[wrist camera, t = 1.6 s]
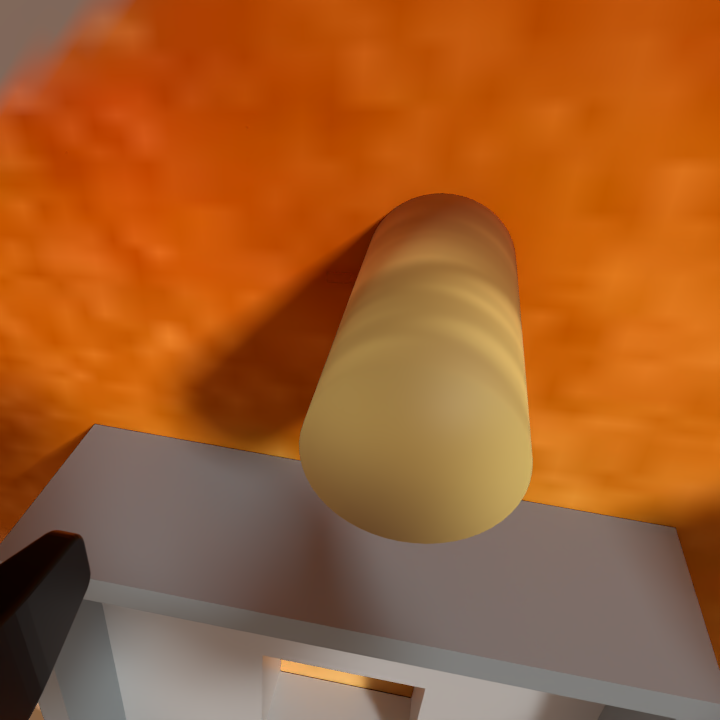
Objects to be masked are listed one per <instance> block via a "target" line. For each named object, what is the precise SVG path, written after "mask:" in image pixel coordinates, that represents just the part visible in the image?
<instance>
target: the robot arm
mask: <svg viewBox="0 0 720 720" xmlns="http://www.w3.org/2000/svg"><path fill="white" fill-rule="evenodd" d="M90 576H91V571H90V566H89V561H88V557H87V552H86V547H85V543H84V539H83V538H82V536H81V535H80V534H77V533H72V532H66V531H61V530H52V531H50V532H47V533H46V534H44V535H42V536H41V537H39V538H38V539H36V540H35V541H33V542H32V543H30V544H29V545H27V546H26V547H24V548H23V549H21V550H20V551H18V552H17V553H15V554H14V555H12V556H11V557H9V558H8V559H7V560H5V561H4V562H2V563H1V564H0V720H28V719H29V718H30V716H31V714H32V712H33V711H34V709H35V707H36V705H37V703H38V701H39V699H40V697H41V695H42V693H43V691H44V689H45V687H46V685H47V682H48V680H49V678H50V676H51V673H52V671H53V669H54V666H55V664H56V662H57V659H58V657H59V655H60V652H61V650H62V648H63V645H64V643H65V641H66V638H67V636H68V634H69V631H70V629H71V626H72V624H73V622H74V619H75V617H76V615H77V612H78V610H79V608H80V605H81V603H82V601H83V598H84V596H85V594H86V591H87V589H88V586H89V582H90Z"/></svg>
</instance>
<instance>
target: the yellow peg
mask: <svg viewBox="0 0 720 720" xmlns="http://www.w3.org/2000/svg"><path fill="white" fill-rule="evenodd" d="M299 453H300V459H301V464H302V467H303V470H304V473H305V476H306V478H307V480H308V481H309V483H310V485H311V487H312V488H313V490H314V491H315V492H316V494H317V495H318V497H319V498H320V499H321V500H322V501H323V502H324V503H325V504H326V505H327V506H328V507H329V508H330V509H331V510H332V511H334V512H335V513H336V514H337V515H339V516H340V517H342V518H343V519H344V520H346V521H347V522H349V523H351V524H353V525H354V526H356V527H358V528H360V529H362V530H365V531H367V532H369V533H372V534H374V535H377V536H380V537H383V538H387V539H391V540H396V541H401V542H408V543H420V544H435V543H446V542H453V541H458V540H462V539H466V538H469V537H472V536H475V535H478V534H480V533H482V532H484V531H486V530H488V529H490V528H492V527H494V526H495V525H497V524H498V523H500V522H501V521H503V520H504V519H505V518H506V517H507V516H508V515H510V514H511V513H512V512H513V510H514V509H515V508H516V507H517V506H518V505H519V503H520V502H521V500H522V498H523V497H524V495H525V493H526V491H527V489H528V486H529V484H530V479H531V475H532V463H533V459H532V447H531V435H530V423H529V411H528V398H527V386H526V374H525V362H524V350H523V338H522V326H521V313H520V301H519V289H518V277H517V265H516V255H515V248H514V245H513V241H512V239H511V236H510V234H509V232H508V230H507V229H506V227H505V226H504V224H503V223H502V222H501V220H500V219H499V218H498V217H497V216H496V215H495V214H494V213H493V212H492V211H491V210H489V209H488V208H486V207H485V206H483V205H482V204H480V203H478V202H476V201H474V200H472V199H469V198H466V197H463V196H459V195H454V194H444V193H440V194H429V195H423V196H419V197H416V198H413V199H411V200H409V201H406V202H404V203H402V204H401V205H399V206H398V207H396V208H395V209H393V210H392V211H391V212H390V213H389V214H388V215H387V216H386V217H385V218H384V219H383V220H382V221H381V223H380V224H379V226H378V227H377V228H376V230H375V232H374V234H373V236H372V239H371V242H370V244H369V247H368V250H367V252H366V255H365V258H364V260H363V263H362V266H361V269H360V271H359V274H358V277H357V279H356V282H355V285H354V287H353V290H352V293H351V296H350V298H349V301H348V304H347V306H346V309H345V312H344V314H343V317H342V320H341V323H340V325H339V328H338V331H337V333H336V336H335V339H334V341H333V344H332V347H331V350H330V352H329V355H328V358H327V360H326V363H325V366H324V369H323V371H322V374H321V377H320V379H319V382H318V385H317V387H316V390H315V393H314V396H313V398H312V401H311V404H310V406H309V409H308V412H307V414H306V417H305V420H304V423H303V426H302V429H301V433H300V440H299Z"/></svg>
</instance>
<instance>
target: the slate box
mask: <svg viewBox="0 0 720 720" xmlns="http://www.w3.org/2000/svg"><path fill="white" fill-rule="evenodd" d="M52 530H61V531H66V532H72V533H77V534H80V535H81V536H82V538H83V539H84V543H85V547H86V552H87V557H88V561H89V566H90V571H91V576H90V582H89V586H88V589H87V591H86V594H85V596H84V598H83V601H82V603H81V605H80V608H79V610H78V612H77V615H76V617H75V619H74V622H73V624H72V626H71V629H70V631H69V634H68V636H67V638H66V641H65V643H64V645H63V648H62V650H61V652H60V655H59V657H58V659H57V662H56V664H55V666H54V669H53V671H52V673H51V676H50V678H49V680H48V682H47V685H46V687H45V689H44V691H43V693H42V695H41V697H40V699H39V701H38V703H39V706H40V709H41V712H42V715H43V718H44V720H720V670H719V667H718V664H717V660H716V657H715V654H714V651H713V647H712V644H711V641H710V638H709V635H708V631H707V628H706V625H705V622H704V618H703V615H702V612H701V609H700V605H699V602H698V599H697V596H696V593H695V589H694V586H693V583H692V580H691V576H690V573H689V570H688V567H687V563H686V560H685V557H684V554H683V551H682V547H681V544H680V541H679V538H678V534H677V531H676V528H673V527H668V526H662V525H657V524H651V523H645V522H640V521H634V520H629V519H623V518H617V517H612V516H606V515H601V514H595V513H589V512H584V511H578V510H573V509H567V508H561V507H556V506H550V505H545V504H539V503H533V502H528V501H522V500H521V502H520V503H519V505H518V506H517V507H516V508H515V509H514V510H513V512H512V513H511V514H510V515H508V516H507V517H506V518H505V519H504V520H503V521H501V522H500V523H498V524H497V525H495V526H494V527H492V528H490V529H488V530H486V531H484V532H482V533H480V534H478V535H475V536H472V537H469V538H466V539H462V540H458V541H453V542H446V543H435V544H420V543H408V542H401V541H396V540H391V539H387V538H383V537H380V536H377V535H374V534H372V533H369V532H367V531H365V530H362V529H360V528H358V527H356V526H354V525H353V524H351V523H349V522H347V521H346V520H344V519H343V518H342V517H340V516H339V515H337V514H336V513H335V512H334V511H332V510H331V509H330V508H329V507H328V506H327V505H326V504H325V503H324V502H323V501H322V500H321V499H320V498H319V497H318V495H317V494H316V492H315V491H314V490H313V488H312V487H311V485H310V483H309V481H308V480H307V478H306V476H305V473H304V470H303V467H302V464H301V461H298V460H293V459H287V458H282V457H276V456H270V455H265V454H259V453H254V452H248V451H242V450H237V449H231V448H226V447H220V446H214V445H209V444H203V443H198V442H192V441H186V440H181V439H175V438H170V437H164V436H158V435H153V434H147V433H142V432H136V431H130V430H125V429H119V428H114V427H108V426H103V425H97V424H94V426H93V427H92V428H91V429H90V431H89V432H88V433H87V434H86V436H85V437H84V438H83V440H82V441H81V442H80V443H79V445H78V446H77V447H76V448H75V450H74V451H73V452H72V454H71V455H70V456H69V457H68V459H67V460H66V461H65V462H64V464H63V465H62V466H61V468H60V469H59V470H58V471H57V473H56V474H55V475H54V476H53V478H52V479H51V480H50V482H49V483H48V484H47V485H46V487H45V488H44V489H43V491H42V492H41V493H40V494H39V496H38V497H37V498H36V499H35V501H34V502H33V503H32V505H31V506H30V507H29V508H28V510H27V511H26V512H25V513H24V515H23V516H22V517H21V519H20V520H19V521H18V522H17V524H16V525H15V526H14V527H13V529H12V530H11V531H10V533H9V534H8V535H7V536H6V538H5V539H4V540H3V541H2V543H1V544H0V564H1V563H2V562H4V561H5V560H7V559H8V558H9V557H11V556H12V555H14V554H15V553H17V552H18V551H20V550H21V549H23V548H24V547H26V546H27V545H29V544H30V543H32V542H33V541H35V540H36V539H38V538H39V537H41V536H42V535H44V534H46V533H47V532H50V531H52ZM281 659H283V660H288V661H293V662H297V663H302V664H307V665H312V666H317V667H322V668H327V669H332V670H337V671H341V672H346V673H351V674H356V675H361V676H366V677H371V678H376V679H381V680H385V681H390V682H395V683H400V684H405V685H410V686H414V690H413V694H412V698H408V697H403V696H398V695H393V694H388V693H383V692H379V691H374V690H369V689H364V688H359V687H354V686H350V685H345V684H340V683H335V682H330V681H325V680H320V679H316V678H311V677H306V676H301V675H296V674H291V673H286V672H282V671H280V667H281Z"/></svg>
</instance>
